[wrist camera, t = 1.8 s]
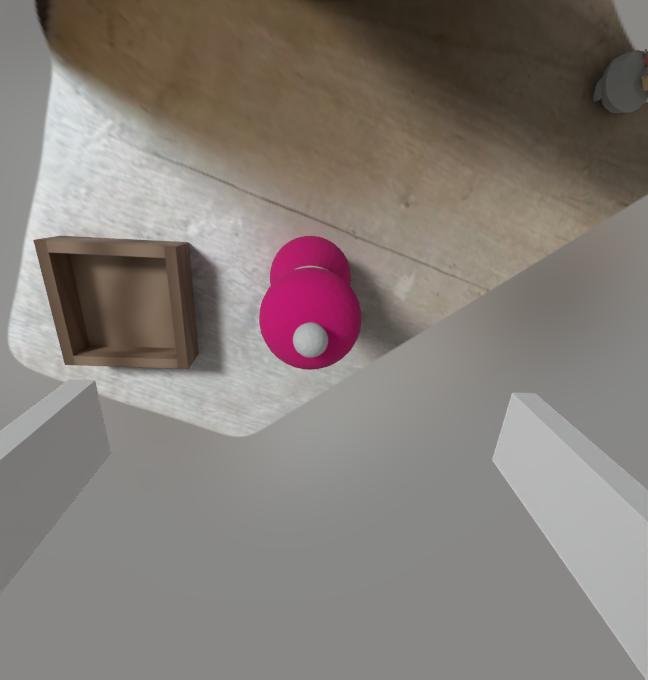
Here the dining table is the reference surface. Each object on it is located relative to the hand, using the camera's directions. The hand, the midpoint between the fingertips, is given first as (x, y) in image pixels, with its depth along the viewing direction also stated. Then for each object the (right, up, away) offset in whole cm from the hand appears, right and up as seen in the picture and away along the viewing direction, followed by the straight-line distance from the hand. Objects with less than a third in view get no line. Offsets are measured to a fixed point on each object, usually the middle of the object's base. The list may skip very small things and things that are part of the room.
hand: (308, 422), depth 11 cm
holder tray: (-19, +7, +24) cm, 32 cm away
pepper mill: (-1, +10, +24) cm, 26 cm away
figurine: (+26, +25, +19) cm, 41 cm away
